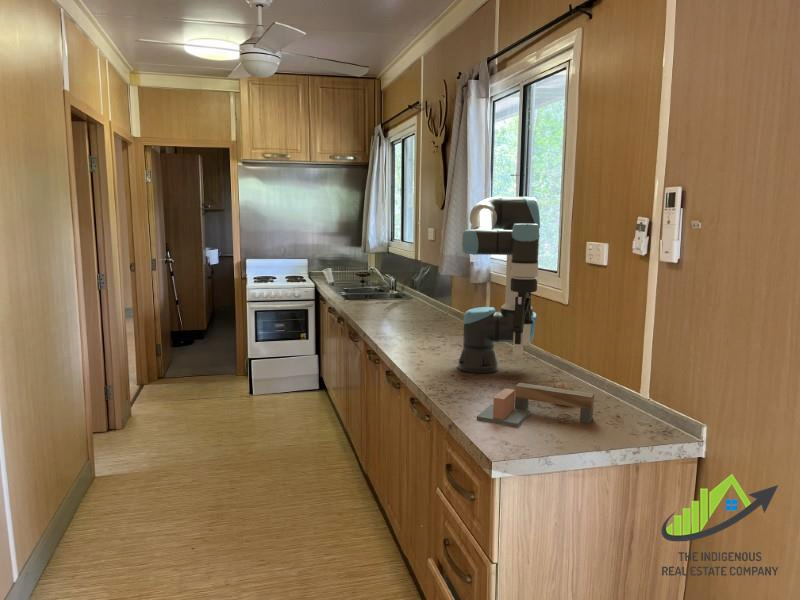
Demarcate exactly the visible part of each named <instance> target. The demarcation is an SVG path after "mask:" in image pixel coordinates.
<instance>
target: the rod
mask: <svg viewBox="0 0 800 600" xmlns="http://www.w3.org/2000/svg"><path fill="white" fill-rule="evenodd" d="M516 397H517V398H523V399H528V401H529V400H530V401H537V402H542V403H547V404H553V405H554V404H555V405H560V406H565V407H573V408H578V409H581V408H584V409H590V410H591V409H592V408H593V409H594V405H595V393H592V392H585V391H584V392H583V391H577V390H574V391H572V390H565V389H559V388H554V387H551V386H544V385H537V384H532V383H526V382H525V383H523V382H519V383H517V384H516V385H515V398H516Z"/></svg>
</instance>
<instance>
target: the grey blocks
mask: <svg viewBox="0 0 800 600" xmlns="http://www.w3.org/2000/svg"><path fill="white" fill-rule="evenodd" d="M514 408H516V409H522V410H527V409H528V408H529V399H523V398H517V397H515V402H514ZM579 409H580V413H579V414H580V415H579V423H583V424H588V425H589V424H591V422H592V421H593V418H594V407H593V408H592V409H591V410H590V409H584V408H579Z"/></svg>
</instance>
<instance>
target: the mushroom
mask: <svg viewBox="0 0 800 600" xmlns="http://www.w3.org/2000/svg"><path fill="white" fill-rule="evenodd" d="M553 388H559V389H565V390H572V391H575V390H574V388H573V387H572V386H571V385H570V384H568V383H566V382H564V381H563V382H562V381H560V382H556V383H555V384H554V385H553Z"/></svg>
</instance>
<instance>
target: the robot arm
mask: <svg viewBox="0 0 800 600" xmlns="http://www.w3.org/2000/svg"><path fill="white" fill-rule="evenodd" d="M469 220H470V221H469V222H470V224H471V225H470V229H465V230H463V231H462V239H461V240H462V243H461V244H462V247H461V248H462V252H463V254H465V255H473V256H475V255H477V256H478V255H481V256H482V255H486V256H487V255H488V256H490V255H492V256H493V255H494V256H495V255H497V256H498V255H499V256H500V255H501V256H506V264H505V265H506V271H505V274H506V275H505V302H504V304H502V305H501V306H500V311H496V308H495V307H493V306H482V307H481V306H480V307H474V308H470V309H468V310H466V311H465V312H464V315H463V321H462V323H463V340H462V341H463V342H462V343H463V345H462V346H463V347H462V350H461V353H460V357H459V359H458V363H457V367H458V369H459V370H460V371H462V370H463V371H462V372H465V371H466V373H470V374H490V373H494V372H495V373H496V372H497V371H498V370H499V362H498V358H497V355H496V352H495V343H507V344H508V343H510V344H512V355H513V356H523V355H524V346H525V347H527V346H530V345H531V344H530V343H531V342H532V341H533V339H534V336H535V331H536V324H537V313H536V312H534V311H533V309H534V308H533V306H532V293H536V292H537V291H538V278H537V277H538V276H539V248H540V247H539V246H540V245H539V244H540V236H541V234H540V227H541V226H540V225H541V217H540V209H539V203H538V199H536V198H535V197H532V196H531V197H530V196H493V197H488V198H485V199H484V200H481V201H479V202H478V203H476V204H475V205H474V206H473V208H472V209H471V210H470V215H469Z"/></svg>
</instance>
